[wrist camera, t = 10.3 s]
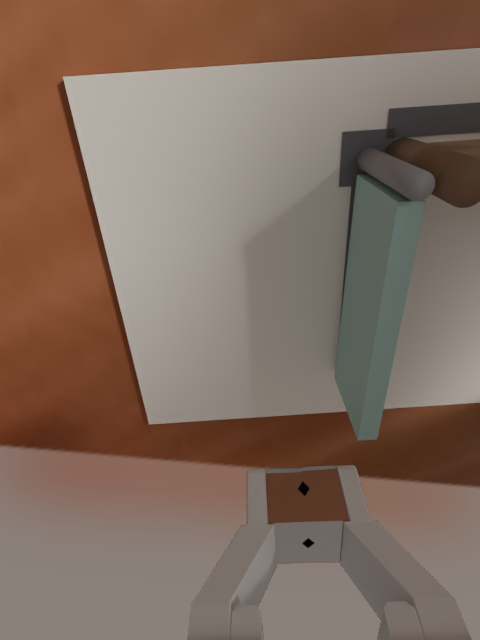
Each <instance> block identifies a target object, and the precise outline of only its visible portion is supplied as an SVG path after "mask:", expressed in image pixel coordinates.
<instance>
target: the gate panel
mask: <svg viewBox="0 0 480 640" xmlns="http://www.w3.org/2000/svg"><path fill="white" fill-rule="evenodd" d="M357 163H358V166H359V168H360V169H361V170H363V171H365V172H366V173H368V174H359V175H357V180H356V189H355V198H354V207H353V216H352V225H351V234H350V243H349V252H348V261H347V269H346V278H345V287H344V296H343V305H342V314H341V323H340V332H339V341H338V350H337V359H336V368H335V377H334V378H335V381H336V383H337V386H338V389H339V392H340V394H341V397H342V400H343V402H344V405H345V408H346V410H347V413H348V416H349V418H350V421H351V424H352V427H353V429H354V432H355V435H356V437H357V440H377V438H378V433H379V428H380V423H381V419H382V414H383V409H384V404H385V399H386V394H387V389H388V384H389V379H390V375H391V370H392V365H393V360H394V355H395V350H396V345H397V340H398V335H399V331H400V326H401V321H402V316H403V311H404V306H405V301H406V296H407V291H408V287H409V282H410V277H411V272H412V267H413V262H414V257H415V252H416V247H417V243H418V238H419V233H420V228H421V223H422V218H423V213H424V208H425V203H426V201H425V200H424V199H426V198H427V197H429V196H430V195H431V193H432V192H433V190H434V187H435V178H434V176H433V175H432V174H431V173H430V172H428V171H426V170H423V169H421V168H418V167H416V166H414V165H411V164H409V163H407V162H404V161H402V160H400V159H397V158H395V157H393V156H390V155H388V154H386V153H383V152H381V151H379V150H376V149H374V148H366V149H364V150H363V151H362V152H361V153H360V154H359V156H358V159H357Z"/></svg>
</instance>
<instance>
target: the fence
mask: <svg viewBox="0 0 480 640" xmlns="http://www.w3.org/2000/svg"><path fill="white" fill-rule="evenodd" d="M385 153H386V154H388V155H390V156H393V157H395V158H397V159H400V160H402V161H404V162H407V163H409V164H411V165H414V166H416V167H418V168H421V169H423V170H426V171H428V172H430V173H431V174H432V175H433V176H434V178H435V187H434V190H433V192H432V193H431V194H432V195H434V196H436V197H437V198H439V199H441V200H443V201H445V202H447V203H449V204H451V205H453V206H455V207H458V208H467V207H471V206H473V205H475V204H477V203H479V202H480V139H474V140H460V141H445V142H431V143H425V142H421V141H418V140H414V139H411V138H407V137H403V138H398V139H396V140H395V141H393V142H392V143H391V144H390V145H389V146H388V148H387V150H386V152H385Z"/></svg>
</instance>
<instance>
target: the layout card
mask: <svg viewBox="0 0 480 640" xmlns="http://www.w3.org/2000/svg"><path fill="white" fill-rule="evenodd" d="M63 80H64V84H65V88H66V92H67V96H68V100H69V104H70V108H71V112H72V116H73V120H74V124H75V128H76V132H77V136H78V140H79V145H80V149H81V153H82V157H83V161H84V165H85V169H86V173H87V177H88V181H89V185H90V189H91V193H92V197H93V201H94V205H95V209H96V213H97V217H98V221H99V225H100V229H101V233H102V237H103V241H104V245H105V249H106V253H107V257H108V261H109V265H110V269H111V273H112V277H113V282H114V286H115V290H116V294H117V298H118V302H119V306H120V310H121V314H122V318H123V322H124V326H125V330H126V334H127V338H128V342H129V346H130V350H131V354H132V358H133V362H134V366H135V370H136V374H137V378H138V382H139V386H140V390H141V394H142V398H143V402H144V406H145V410H146V414H147V418H148V423H149V424H164V423H179V422H194V421H209V420H224V419H239V418H254V417H270V416H285V415H300V414H315V413H330V412H345V411H347V410H346V408H345V405H344V402H343V400H342V397H341V394H340V392H339V389H338V386H337V383H336V381H335V378H334V377H335V368H336V359H337V350H338V341H339V332H340V323H341V314H342V305H343V296H344V287H345V278H346V269H347V261H348V252H349V243H350V234H351V225H352V216H353V207H354V198H355V189H356V180H357V175H359V174H368V173H366V172H365V171H363V170H361V169H360V168H359V166H358V163H357V159H358V156H359V154H360V153H361V152H362V151H363V150H364V149H366V148H374V149H376V150H379V151H381V152H383V153H385V152H386V150H387V148H388V146H389V145H390V144H391V143H392V142H393V141H395V140H396V139H398V138H403V137H407V138H411V139H414V140H418V141H421V142H425V143H431V142H445V141H460V140H474V139H480V48H470V49H456V50H441V51H427V52H413V53H398V54H384V55H370V56H355V57H341V58H327V59H312V60H298V61H284V62H269V63H255V64H241V65H226V66H212V67H198V68H183V69H169V70H155V71H140V72H126V73H112V74H97V75H83V76H69V77H63ZM424 200H425V201H426V203H425V208H424V213H423V218H422V223H421V228H420V233H419V238H418V243H417V247H416V252H415V257H414V262H413V267H412V272H411V277H410V282H409V287H408V291H407V296H406V301H405V306H404V311H403V316H402V321H401V326H400V331H399V335H398V340H397V345H396V350H395V355H394V360H393V365H392V370H391V375H390V379H389V384H388V389H387V394H386V399H385V404H384V409H391V408H406V407H421V406H436V405H451V404H467V403H480V202H479V203H477V204H475V205H473V206H471V207H467V208H458V207H455V206H453V205H451V204H449V203H447V202H445V201H443V200H441V199H439V198H437V197H436V196H434V195H432V194H431V195H430V196H429V197H427V198H426V199H424Z"/></svg>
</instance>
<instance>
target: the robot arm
mask: <svg viewBox="0 0 480 640" xmlns="http://www.w3.org/2000/svg"><path fill="white" fill-rule="evenodd" d="M308 562H309V563H311V562H313V563H318V562H319V563H320V562H321V563H332V562H333V563H334V562H337V563H340V565H341V566H342V567H343V569H344V570H345V572H346V573H347V574H348V576H349V577H350V578H351V580H352V581H353V583H354V584H355V585H356V587H357V588H358V589H359V591H360V592H361V593H362V595H363V596H364V598H365V599H366V601H367V602H368V603H369V605H370V606H371V607H372V609H373V610H374V612H375V613H376V614H377V616H378V617H379V619H380V620H381V623H380V628H379V632H378V637H377V640H471V637H470V635H469V632H468V630H467V627H466V625H465V622H464V620H463V617H462V615H461V612H460V610H459V607H458V605H457V602H456V600H455V598H454V597H453V596H452V595H451V594H450V593H449V592H448V591H447V590H446V589H445V588H444V587H443V586H442V585H441V584H440V583H439V582H438V581H437V580H436V579H435V578H434V577H433V576H432V575H431V574H430V573H429V572H428V571H427V570H426V569H425V568H424V567H423V566H422V565H421V564H420V563H419V562H418V561H417V560H416V559H415V558H414V557H413V556H412V555H411V554H410V553H409V552H408V551H407V550H406V549H405V548H404V547H403V546H402V545H401V544H400V543H399V542H398V541H397V540H396V539H395V538H394V537H393V536H392V535H391V534H390V533H389V532H388V531H387V530H386V529H385V528H384V527H383V526H382V525H381V524H380V523H379V522H378V521H372V520H371V517H370V514H369V510H368V506H367V503H366V500H365V496H364V493H363V489H362V486H361V482H360V479H359V475H358V472H357V468H356V467H355V466H354V465H342V466H335V465H332V466H315V467H300V468H276V469H266V471H265V469H248V471H247V525H241V527H240V529H239V530H238V531H237V533H236V535H235V536H234V538H233V539H232V541H231V542H230V544H229V545H228V547H227V549H226V550H225V552H224V553H223V555H222V556H221V558H220V560H219V561H218V563H217V564H216V566H215V567H214V569H213V571H212V572H211V574H210V575H209V577H208V578H207V580H206V581H205V583H204V585H203V586H202V588H201V590H200V591H199V593H198V594H197V596H196V597H195V599H194V600H193V602H192V603H191V611H190V619H189V627H188V636H187V640H264V636H263V627H262V618H261V611H260V610H259V609H258V607H259V604H260V602H261V600H262V598H263V596H264V593H265V591H266V589H267V587H268V585H269V582H270V580H271V578H272V576H273V574H274V572H275V569H276V567H277V564H291V563H308Z"/></svg>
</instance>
